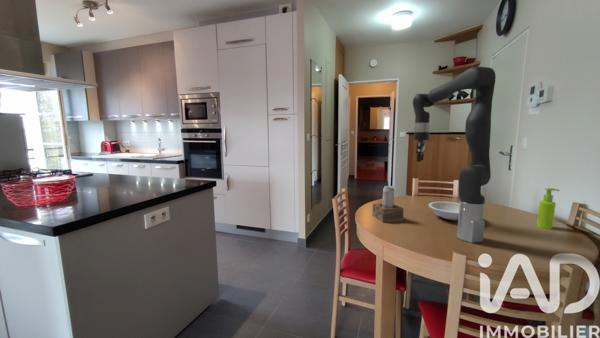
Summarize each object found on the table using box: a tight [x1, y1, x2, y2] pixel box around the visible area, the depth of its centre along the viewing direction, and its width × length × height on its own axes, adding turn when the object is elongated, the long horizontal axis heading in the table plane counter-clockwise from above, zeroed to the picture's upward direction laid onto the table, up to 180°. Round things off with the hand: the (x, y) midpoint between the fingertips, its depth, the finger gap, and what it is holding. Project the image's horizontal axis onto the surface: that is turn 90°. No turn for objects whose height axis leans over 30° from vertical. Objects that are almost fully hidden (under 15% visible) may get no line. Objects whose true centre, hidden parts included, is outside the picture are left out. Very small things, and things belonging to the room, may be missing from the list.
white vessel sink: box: [428, 201, 460, 221], centre depth 148 cm, size 24×24×7 cm
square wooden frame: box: [371, 202, 404, 223], centre depth 149 cm, size 12×12×7 cm
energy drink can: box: [382, 185, 395, 208], centre depth 148 cm, size 6×6×15 cm
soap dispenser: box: [536, 187, 560, 230], centre depth 133 cm, size 6×7×20 cm
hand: (420, 160), depth 147 cm, fingers open, 8 cm apart
